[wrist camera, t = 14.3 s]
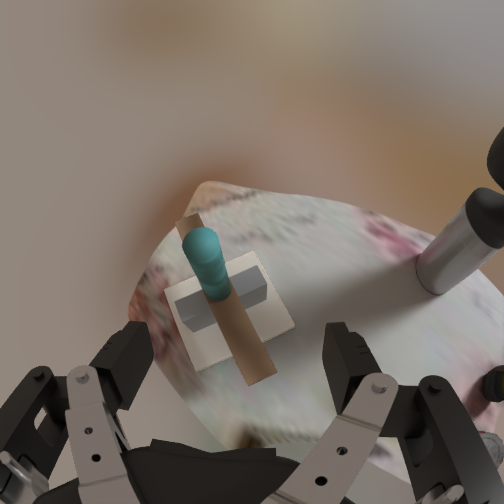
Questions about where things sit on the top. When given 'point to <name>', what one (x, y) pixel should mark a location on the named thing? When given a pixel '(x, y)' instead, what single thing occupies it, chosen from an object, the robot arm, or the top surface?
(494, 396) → the mate gourd
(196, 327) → the ridge stand
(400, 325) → the top surface
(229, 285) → the teal peg on base
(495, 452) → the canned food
